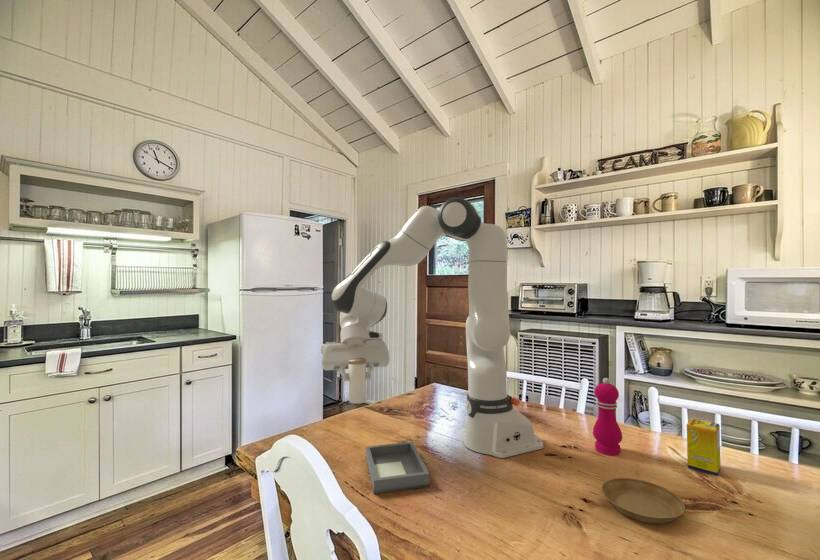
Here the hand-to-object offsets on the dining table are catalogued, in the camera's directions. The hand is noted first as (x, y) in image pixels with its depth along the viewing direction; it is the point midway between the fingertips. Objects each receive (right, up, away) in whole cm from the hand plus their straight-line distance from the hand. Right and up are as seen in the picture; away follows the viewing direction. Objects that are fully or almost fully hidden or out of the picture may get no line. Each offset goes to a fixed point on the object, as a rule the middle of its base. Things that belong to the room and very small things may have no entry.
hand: (357, 379), depth 110 cm
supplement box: (+88, -18, -16) cm, 92 cm away
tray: (+12, -19, -15) cm, 27 cm away
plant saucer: (+63, -19, -32) cm, 73 cm away
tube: (0, -6, +1) cm, 6 cm away
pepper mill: (+70, -18, -6) cm, 72 cm away
